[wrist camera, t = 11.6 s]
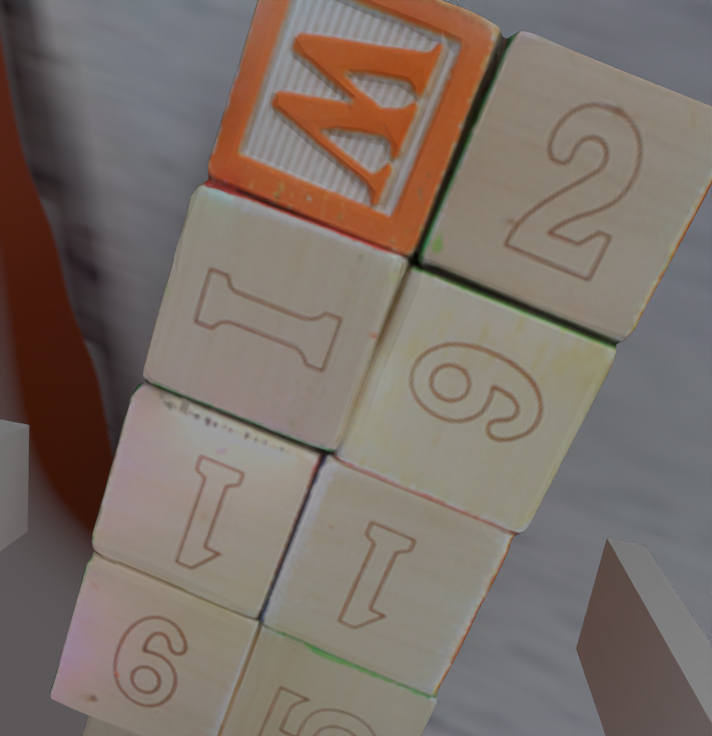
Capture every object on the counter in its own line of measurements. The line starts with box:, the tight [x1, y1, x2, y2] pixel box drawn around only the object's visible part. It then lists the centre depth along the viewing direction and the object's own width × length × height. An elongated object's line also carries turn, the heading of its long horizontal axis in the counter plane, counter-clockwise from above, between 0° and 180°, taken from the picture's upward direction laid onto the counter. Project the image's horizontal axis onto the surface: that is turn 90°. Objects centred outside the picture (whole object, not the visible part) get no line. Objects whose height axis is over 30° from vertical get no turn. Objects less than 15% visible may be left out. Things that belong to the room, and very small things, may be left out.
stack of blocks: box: [50, 0, 712, 736], centre depth 15 cm, size 21×6×12 cm, turn 158°
